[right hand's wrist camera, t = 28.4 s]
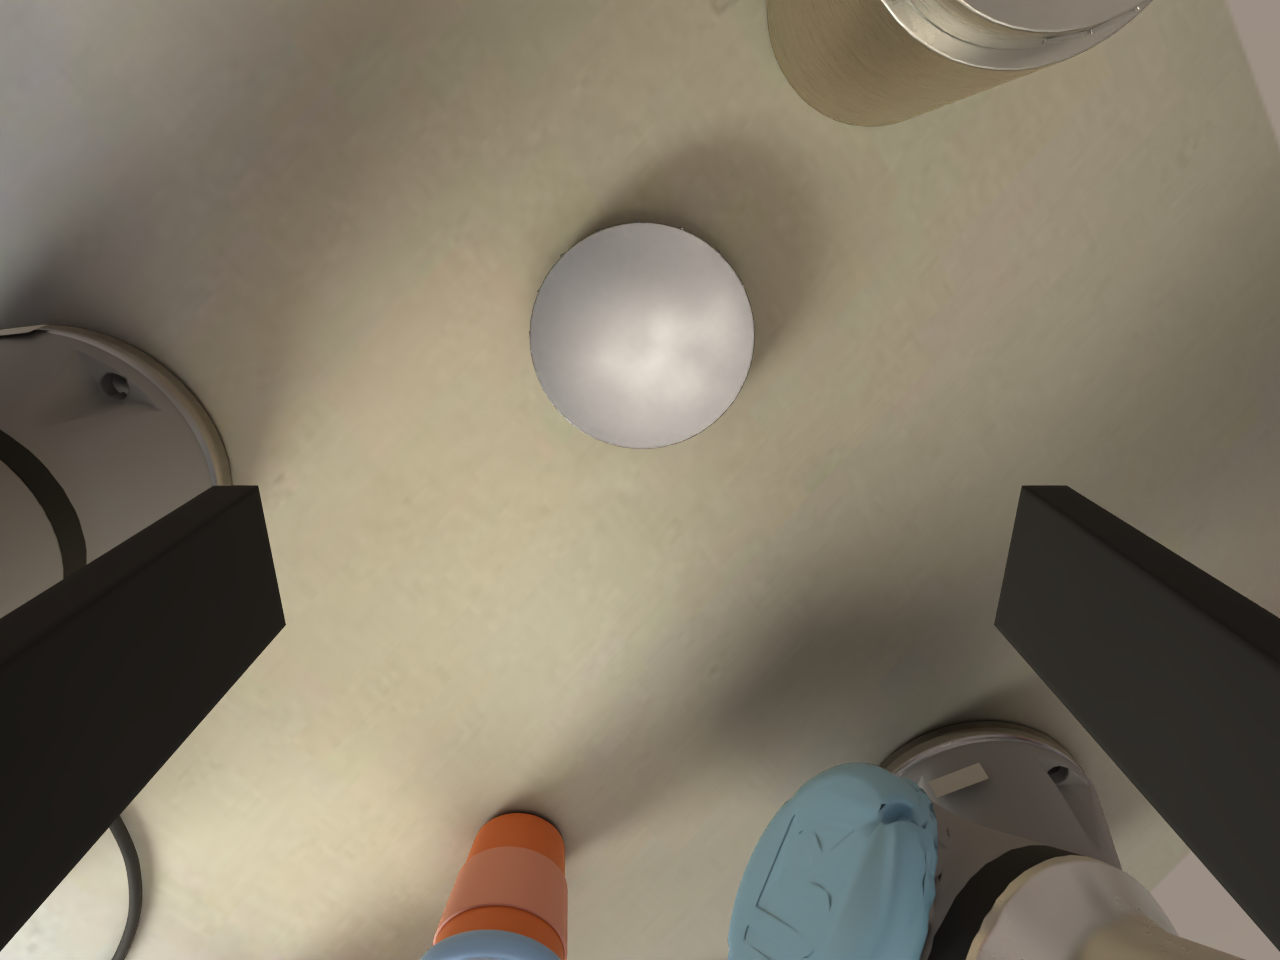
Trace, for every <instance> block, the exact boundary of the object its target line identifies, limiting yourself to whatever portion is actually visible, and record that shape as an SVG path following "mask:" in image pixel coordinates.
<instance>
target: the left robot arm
mask: <svg viewBox="0 0 1280 960" xmlns="http://www.w3.org/2000/svg"><path fill="white" fill-rule="evenodd" d="M728 945H729V954H728V960H1245V959H1242V958H1239V957H1236V956H1234V955H1231V954H1228V953H1225V952H1222V951H1219V950H1216V949H1213V948H1210V947H1208V946H1204V945H1202V944H1199V943H1196V942H1193V941H1190V940H1187V939H1184V938H1181V937H1180V936H1179V935H1178V933H1177V932H1176V930H1175V928H1174V927H1173V925H1172V924H1171V922H1170V920H1169V919H1168V917H1167V915H1166V914H1165V912H1164V911H1163V909H1162V908H1161V907H1160V905H1159V904H1158V903H1157V901H1156V900H1155V899H1154V897H1153V896H1152V895H1151V894H1150V893H1149V892H1148V891H1147V890H1146V889H1145V888H1144V887H1143V886H1142V885H1141V884H1140V883H1139V882H1138V881H1137V880H1136V879H1135V878H1133V877H1132V876H1130V875H1129V874H1127V873H1126V872H1124V871H1122V868H1121V865H1120V862H1119V859H1118V856H1117V853H1116V850H1115V847H1114V844H1113V841H1112V838H1111V835H1110V832H1109V829H1108V826H1107V823H1106V820H1105V817H1104V814H1103V811H1102V808H1101V805H1100V802H1099V799H1098V796H1097V793H1096V791H1095V788H1094V786H1093V785H1092V783H1091V781H1090V779H1089V778H1088V777H1087V775H1086V774H1085V773H1084V772H1083V770H1082V769H1081V768H1080V767H1079V765H1078V764H1077V763H1076V762H1075V760H1074V759H1073V758H1072V757H1071V755H1070V754H1069V753H1068V752H1067V751H1066V750H1065V749H1064V748H1063V747H1062V746H1061V745H1060V744H1058V743H1057V742H1056V741H1055V740H1053V739H1051V738H1050V737H1048V736H1047V735H1045V734H1043V733H1041V732H1039V731H1036V730H1034V729H1031V728H1028V727H1025V726H1021V725H1018V724H1012V723H1007V722H996V721H980V722H969V723H962V724H957V725H952V726H948V727H944V728H941V729H938V730H935V731H932V732H930V733H927V734H925V735H923V736H921V737H919V738H917V739H915V740H913V741H911V742H909V743H908V744H906V745H904V746H903V747H901V748H900V749H898V750H897V751H896V752H894V753H893V754H892V755H891V756H889V757H888V758H887V759H886V760H885V761H884V762H883V763H882V764H881V765H880V766H876V765H873V764H868V763H848V764H842V765H838V766H835V767H832V768H830V769H827V770H825V771H823V772H821V773H820V774H818V775H816V776H815V777H813V778H812V779H810V780H809V781H807V782H806V783H805V784H804V785H803V786H801V787H800V789H799V790H798V791H797V793H796V794H795V795H794V796H793V797H792V798H791V799H790V800H788V801H786V802H785V803H784V805H783V806H782V807H781V808H780V809H779V811H778V812H777V813H776V815H775V816H774V817H773V819H772V820H771V822H770V823H769V824H768V826H767V828H766V829H765V831H764V832H763V834H762V836H761V838H760V839H759V841H758V843H757V845H756V847H755V849H754V851H753V853H752V855H751V857H750V860H749V862H748V864H747V867H746V869H745V872H744V874H743V877H742V880H741V883H740V886H739V889H738V892H737V896H736V899H735V903H734V907H733V912H732V916H731V922H730V927H729V935H728Z"/></svg>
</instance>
